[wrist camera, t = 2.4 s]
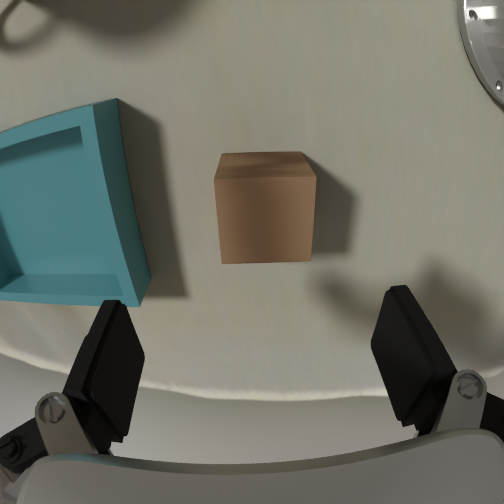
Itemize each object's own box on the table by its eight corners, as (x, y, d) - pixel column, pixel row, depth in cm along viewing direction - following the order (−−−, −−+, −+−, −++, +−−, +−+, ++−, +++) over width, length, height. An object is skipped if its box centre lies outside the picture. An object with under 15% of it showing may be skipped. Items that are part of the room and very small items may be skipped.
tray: (116, 98, 17) (92, 105, 14) (151, 277, 24) (139, 306, 21) (-32, 145, 17) (-58, 159, 14) (12, 277, 24) (-5, 299, 21)
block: (301, 151, 19) (316, 176, 15) (298, 220, 22) (310, 261, 18) (222, 153, 19) (213, 179, 15) (227, 222, 22) (222, 264, 18)
